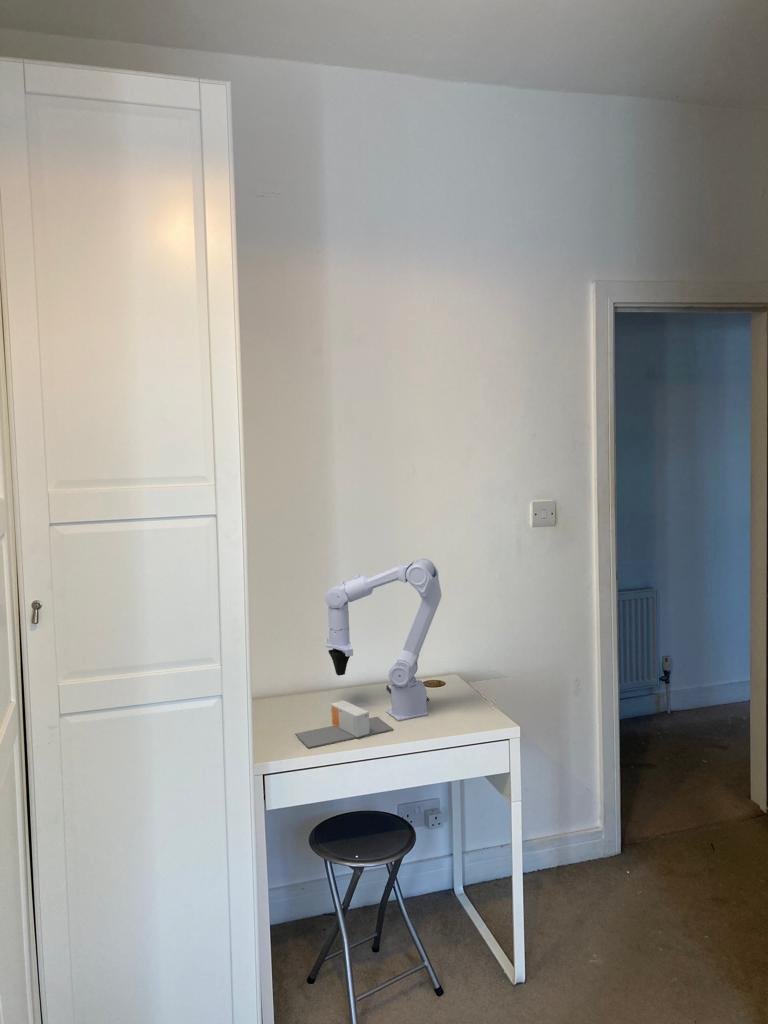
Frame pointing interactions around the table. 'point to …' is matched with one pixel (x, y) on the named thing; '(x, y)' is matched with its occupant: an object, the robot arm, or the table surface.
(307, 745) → the mat
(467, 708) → the table surface
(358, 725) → the skincare box
